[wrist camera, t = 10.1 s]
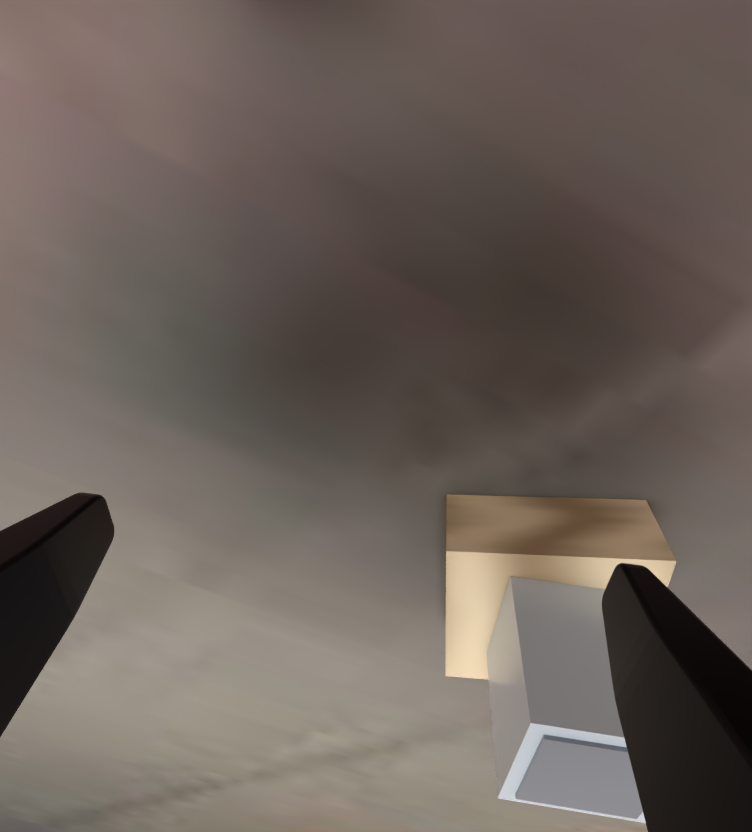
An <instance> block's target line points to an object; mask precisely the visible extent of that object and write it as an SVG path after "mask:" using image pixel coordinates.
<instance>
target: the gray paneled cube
mask: <svg viewBox="0 0 752 832" xmlns="http://www.w3.org/2000/svg"><path fill="white" fill-rule="evenodd" d="M604 591H605V589H599V588H591V587H584V586H577V585H570V584H563V583H555V582H548V581H541V580H534V579H526V578H519V577H512V576H510V579H509V582H508V585H507V589H506V592H505V595H504V598H503V602H502V605H501V608H500V611H499V615H498V618H497V621H496V624H495V628H494V631H493V634H492V637H491V641H490V644H489V647H488V650H487V665H488V678H489V692H490V705H491V718H492V731H493V745H494V758H495V771H496V784H497V797H498V798H499V799H505V800H511V801H517V802H523V803H529V804H535V805H541V806H547V807H553V808H559V809H565V810H571V811H577V812H583V813H589V814H594V815H600V816H606V817H612V818H618V819H624V820H630V821H636V822H642V823H646V822H645V818H644V814H643V810H642V806H641V802H640V798H639V794H638V790H637V786H636V782H635V778H634V774H633V770H632V766H631V762H630V758H629V755H628V751H627V747H626V743H625V739H624V735H623V731H622V727H621V723H620V719H619V715H618V710H617V706H616V702H615V696H614V690H613V684H612V677H611V670H610V663H609V656H608V649H607V642H606V635H605V628H604V620H603V613H602V596H603V593H604Z"/></svg>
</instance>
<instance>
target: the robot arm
mask: <svg viewBox="0 0 752 832" xmlns="http://www.w3.org/2000/svg"><path fill="white" fill-rule="evenodd" d="M113 537H114V525H113V522H112V519H111V516H110V512H109V509H108V506H107V503H106V500H105V498H104V497H103V496H101V495H98V494H90V493H77V494H74V495H72V496H70V497H68V498H66V499H64V500H62V501H60V502H58V503H56V504H54V505H52V506H50V507H48V508H46V509H44V510H42V511H40V512H38V513H36V514H34V515H32V516H30V517H28V518H26V519H24V520H22V521H20V522H18V523H16V524H14V525H12V526H10V527H8V528H6V529H3V530H1V531H0V737H1V735H2V733H3V732H4V730H5V729H6V727H7V725H8V724H9V722H10V721H11V719H12V717H13V716H14V714H15V713H16V711H17V709H18V708H19V706H20V704H21V703H22V701H23V700H24V698H25V696H26V695H27V693H28V692H29V690H30V688H31V687H32V685H33V684H34V682H35V680H36V679H37V677H38V676H39V674H40V672H41V671H42V669H43V667H44V666H45V664H46V663H47V661H48V659H49V658H50V656H51V655H52V653H53V651H54V650H55V648H56V647H57V645H58V643H59V642H60V640H61V638H62V637H63V635H64V634H65V632H66V630H67V629H68V627H69V625H70V624H71V622H72V620H73V619H74V617H75V615H76V613H77V611H78V609H79V607H80V605H81V603H82V601H83V599H84V597H85V595H86V593H87V591H88V589H89V587H90V585H91V583H92V581H93V579H94V577H95V575H96V573H97V571H98V569H99V567H100V565H101V563H102V561H103V559H104V557H105V555H106V553H107V551H108V549H109V547H110V545H111V542H112V540H113ZM602 613H603V620H604V628H605V635H606V642H607V649H608V656H609V663H610V670H611V677H612V684H613V690H614V696H615V702H616V706H617V710H618V715H619V719H620V723H621V727H622V731H623V735H624V739H625V743H626V747H627V751H628V755H629V758H630V762H631V766H632V770H633V774H634V778H635V782H636V786H637V790H638V794H639V798H640V802H641V806H642V810H643V814H644V818H645V822H646V826H647V830H648V832H752V670H751V669H750V668H749V667H748V666H747V665H746V664H745V663H744V662H743V661H742V660H741V659H740V658H739V657H738V656H737V655H736V654H735V653H734V652H733V651H732V650H731V649H729V648H728V647H727V646H726V645H725V644H724V643H723V642H722V641H721V640H720V639H719V638H718V637H717V636H716V635H715V634H714V633H713V632H712V631H711V630H710V629H709V628H708V627H707V626H706V625H705V624H704V623H703V622H702V621H701V620H700V619H699V618H698V617H697V616H696V615H695V614H694V613H693V612H692V611H691V610H690V609H689V608H688V607H687V606H686V605H685V604H684V603H683V602H682V601H681V600H680V599H679V598H678V597H677V596H676V595H675V594H673V593H672V592H671V591H670V590H669V589H668V588H667V587H666V586H665V585H664V584H663V583H662V582H661V581H660V580H659V579H658V578H657V577H656V576H655V575H654V574H653V573H652V572H651V571H650V570H649V569H648V568H646V567H645V566H642V565H635V564H627V563H619V564H618V565H617V566H616V567H615V569H614V571H613V573H612V575H611V577H610V580H609V582H608V584H607V586H606V589H605V591H604V593H603V596H602Z"/></svg>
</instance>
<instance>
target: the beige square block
mask: <svg viewBox="0 0 752 832" xmlns="http://www.w3.org/2000/svg"><path fill="white" fill-rule="evenodd" d="M676 562H677V561H676V559H675V557H674V555H673V553H672V551H671V549H670V547H669V545H668V543H667V541H666V539H665V537H664V535H663V533H662V531H661V529H660V527H659V525H658V523H657V521H656V519H655V517H654V515H653V513H652V511H651V509H650V507H649V505H648V503H647V501H646V500H628V499H592V498H556V497H519V496H483V495H447V497H446V676H451V677H464V678H477V679H489V678H488V665H487V650H488V647H489V644H490V641H491V637H492V634H493V631H494V628H495V624H496V621H497V618H498V615H499V611H500V608H501V605H502V602H503V598H504V595H505V592H506V589H507V585H508V582H509V579H510V576H512V577H519V578H526V579H534V580H541V581H548V582H555V583H563V584H570V585H577V586H584V587H591V588H599V589H606V586H607V584H608V582H609V580H610V577H611V575H612V573H613V571H614V569H615V567H616V566H617V565H618V564H619V563H627V564H635V565H642V566H645V567H646V568H648V569H649V570H650V571H651V572H652V573H653V574H654V575H655V576H656V577H657V578H658V579H659V580H660V581H661V582H662V583H663V584H664V585H665V586H666V587H667V588H668V585H669V582H670V579H671V576H672V573H673V570H674V567H675V564H676Z"/></svg>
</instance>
